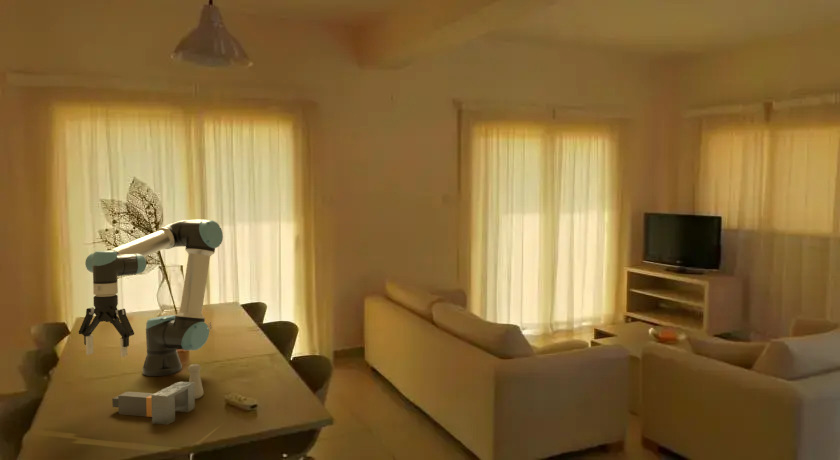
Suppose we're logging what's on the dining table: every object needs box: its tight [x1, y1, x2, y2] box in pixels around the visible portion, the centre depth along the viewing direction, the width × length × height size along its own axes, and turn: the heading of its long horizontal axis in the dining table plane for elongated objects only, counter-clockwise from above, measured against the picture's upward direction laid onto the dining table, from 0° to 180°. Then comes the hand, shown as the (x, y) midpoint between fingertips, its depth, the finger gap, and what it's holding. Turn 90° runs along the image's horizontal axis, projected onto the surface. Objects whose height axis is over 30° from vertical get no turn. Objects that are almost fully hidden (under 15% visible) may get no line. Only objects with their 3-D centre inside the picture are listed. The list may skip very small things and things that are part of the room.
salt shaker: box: [187, 363, 204, 400], centre depth 222 cm, size 6×6×13 cm
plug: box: [111, 390, 154, 418], centre depth 208 cm, size 17×4×6 cm, turn 77°
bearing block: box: [151, 381, 196, 426], centre depth 205 cm, size 6×15×10 cm, turn 167°
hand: (106, 355), depth 211 cm, fingers open, 13 cm apart
